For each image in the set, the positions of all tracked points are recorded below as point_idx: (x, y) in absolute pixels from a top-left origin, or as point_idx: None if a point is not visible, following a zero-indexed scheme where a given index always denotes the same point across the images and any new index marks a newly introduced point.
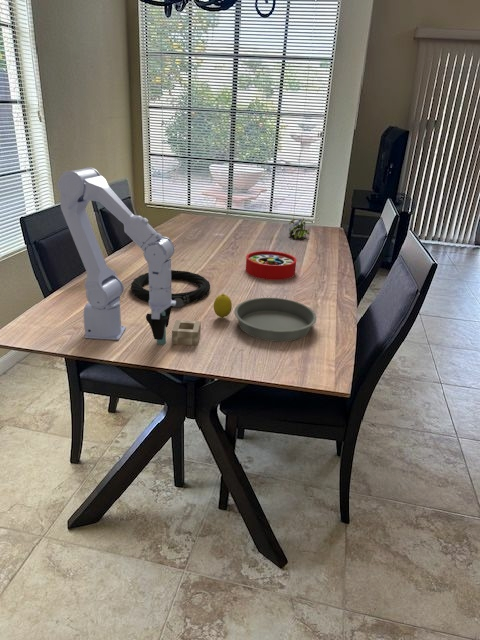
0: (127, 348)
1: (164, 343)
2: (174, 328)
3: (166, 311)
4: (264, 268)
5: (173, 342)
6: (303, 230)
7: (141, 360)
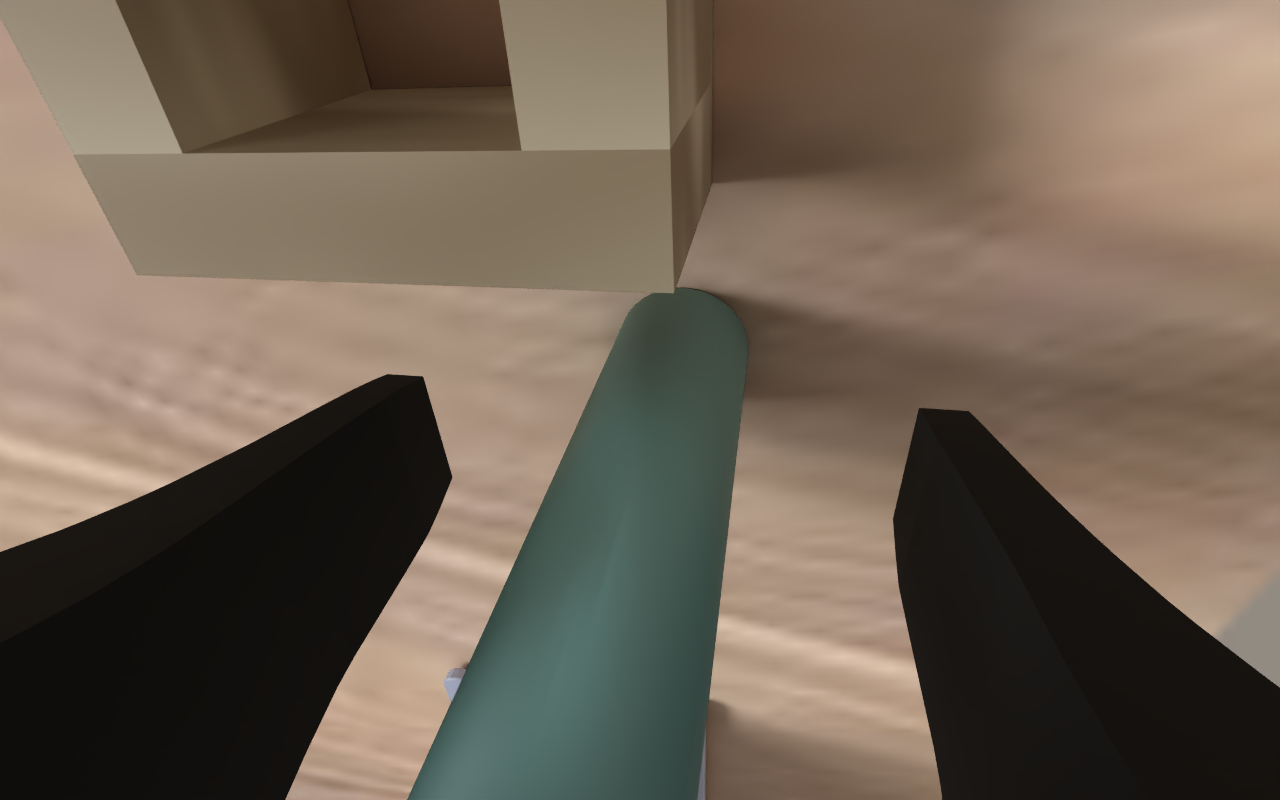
0: (868, 645)
1: (719, 303)
2: (536, 249)
3: (176, 659)
4: None
5: (708, 166)
6: None
7: (1237, 523)
